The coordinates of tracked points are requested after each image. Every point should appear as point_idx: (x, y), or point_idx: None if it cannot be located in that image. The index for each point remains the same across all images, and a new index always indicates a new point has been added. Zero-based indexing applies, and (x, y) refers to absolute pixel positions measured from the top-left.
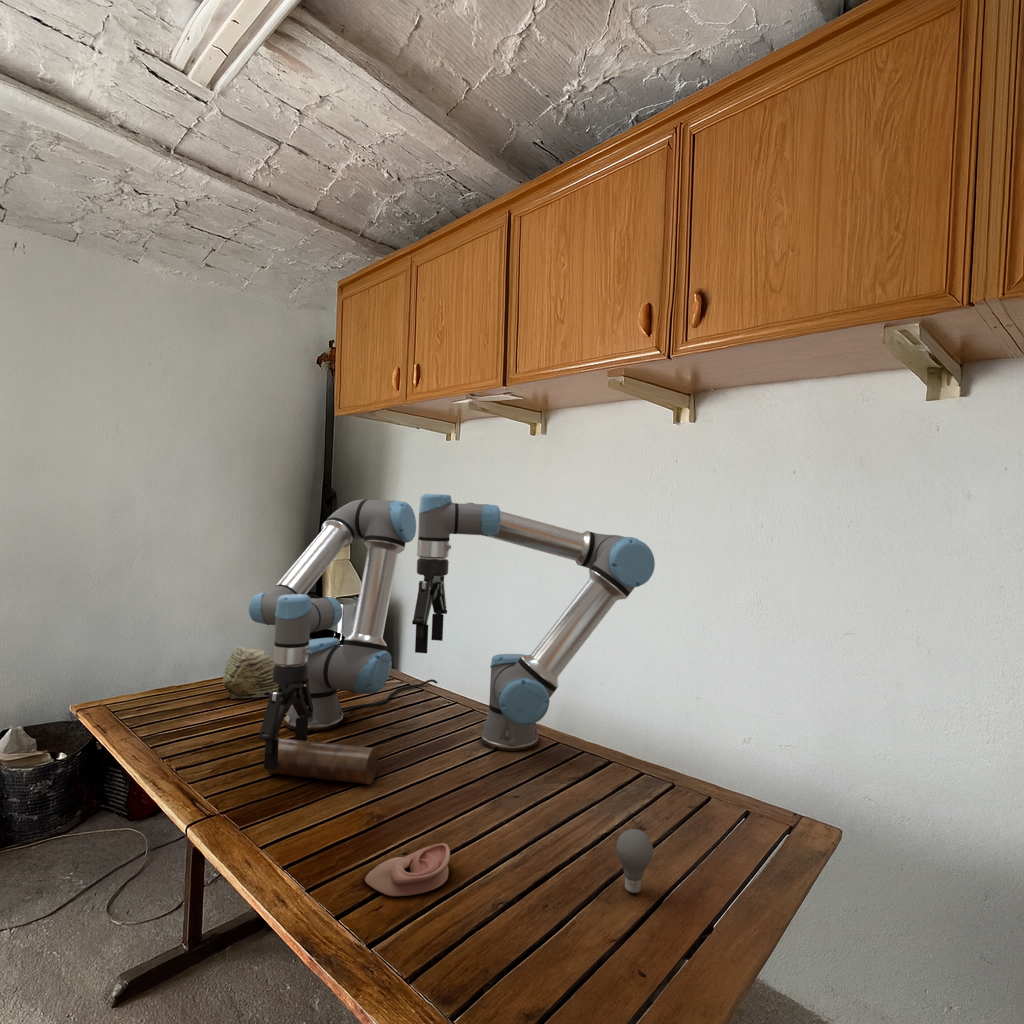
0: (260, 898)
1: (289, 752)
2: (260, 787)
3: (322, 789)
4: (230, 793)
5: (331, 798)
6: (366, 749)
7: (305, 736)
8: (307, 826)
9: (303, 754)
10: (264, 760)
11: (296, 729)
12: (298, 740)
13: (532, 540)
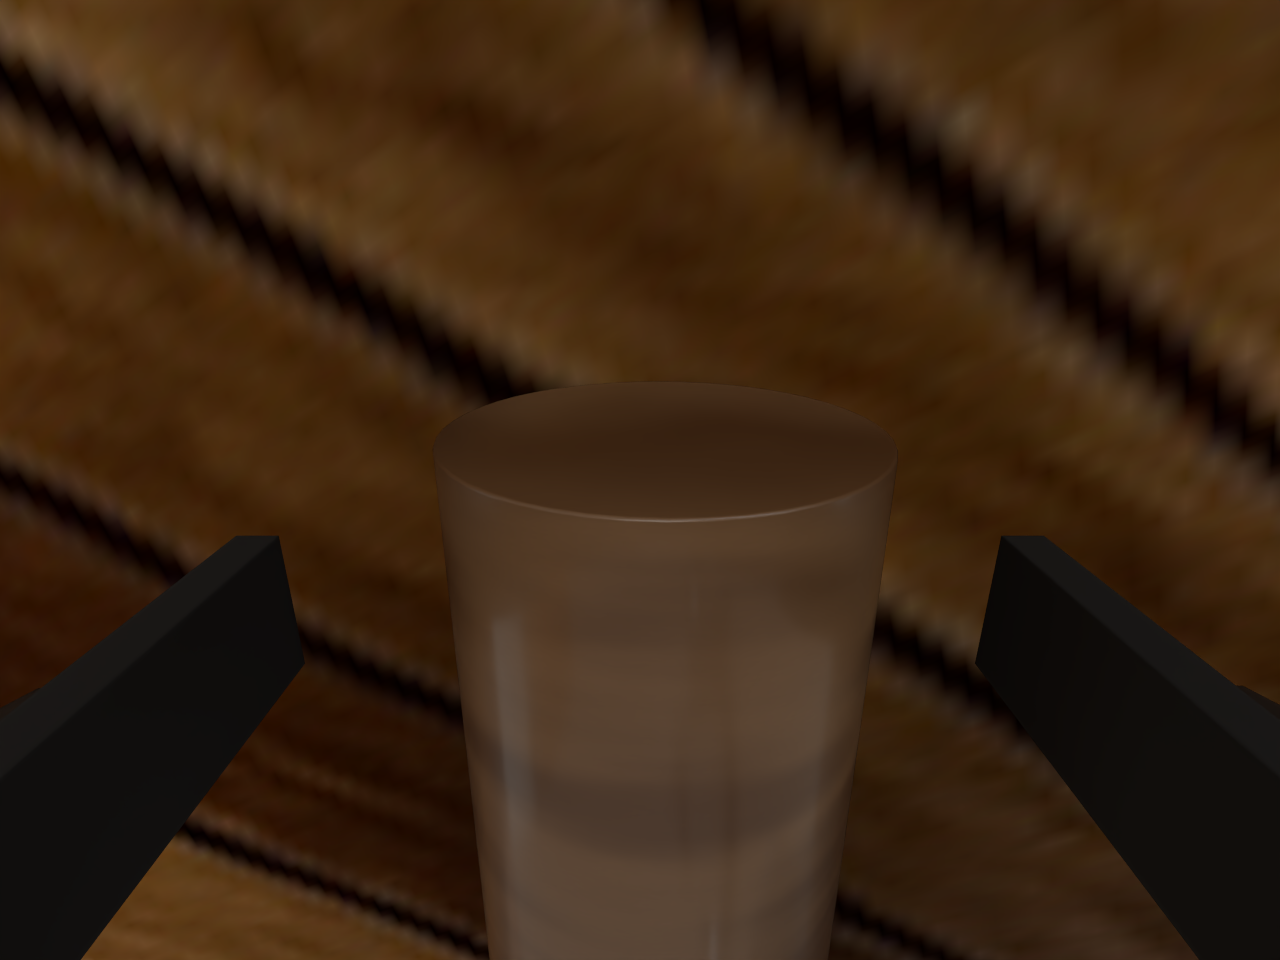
0: None
1: (481, 776)
2: (324, 439)
3: (473, 860)
4: (100, 233)
5: (378, 942)
6: None
7: (1050, 753)
8: None
9: (497, 913)
10: (174, 587)
11: (1150, 690)
12: (703, 862)
13: None
